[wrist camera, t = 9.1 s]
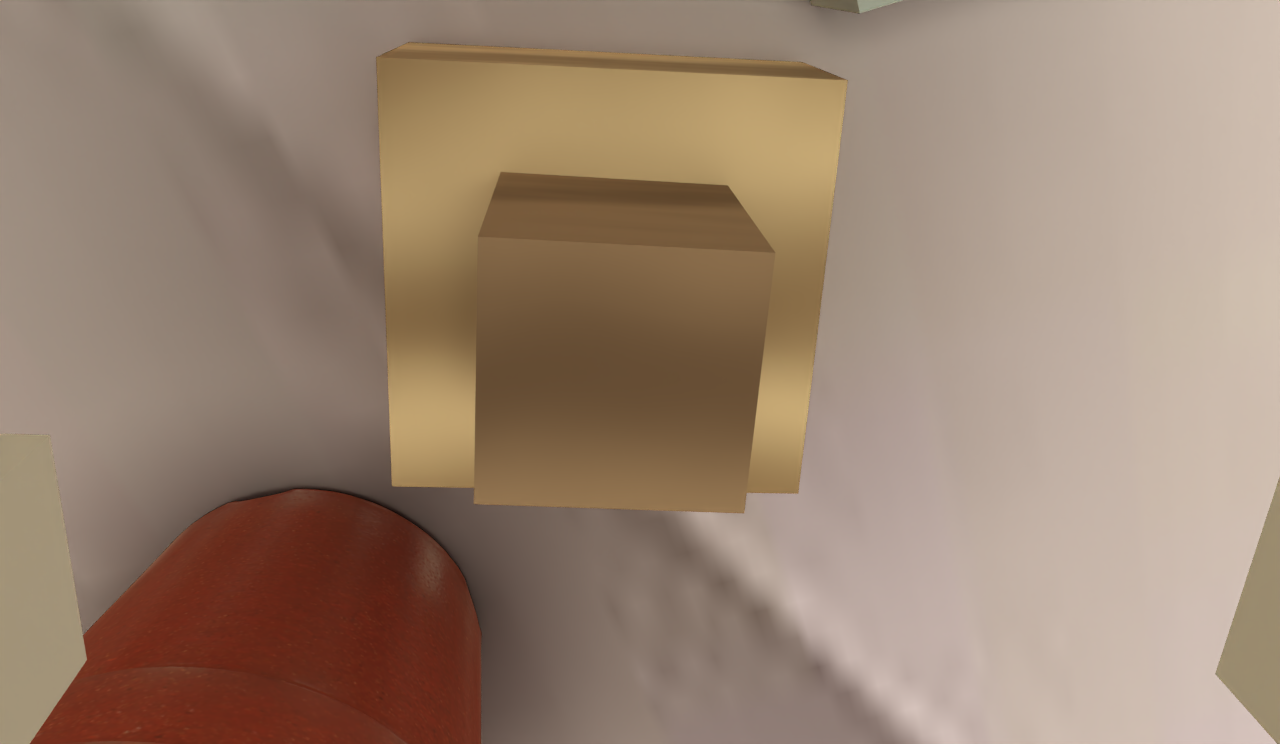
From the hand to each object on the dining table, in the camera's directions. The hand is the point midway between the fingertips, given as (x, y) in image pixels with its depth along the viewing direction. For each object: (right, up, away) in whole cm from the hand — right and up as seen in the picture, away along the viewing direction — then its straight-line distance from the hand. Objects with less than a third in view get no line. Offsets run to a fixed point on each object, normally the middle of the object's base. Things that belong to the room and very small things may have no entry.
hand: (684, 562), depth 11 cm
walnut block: (-1, +4, +17) cm, 18 cm away
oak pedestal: (-2, +6, +23) cm, 24 cm away
